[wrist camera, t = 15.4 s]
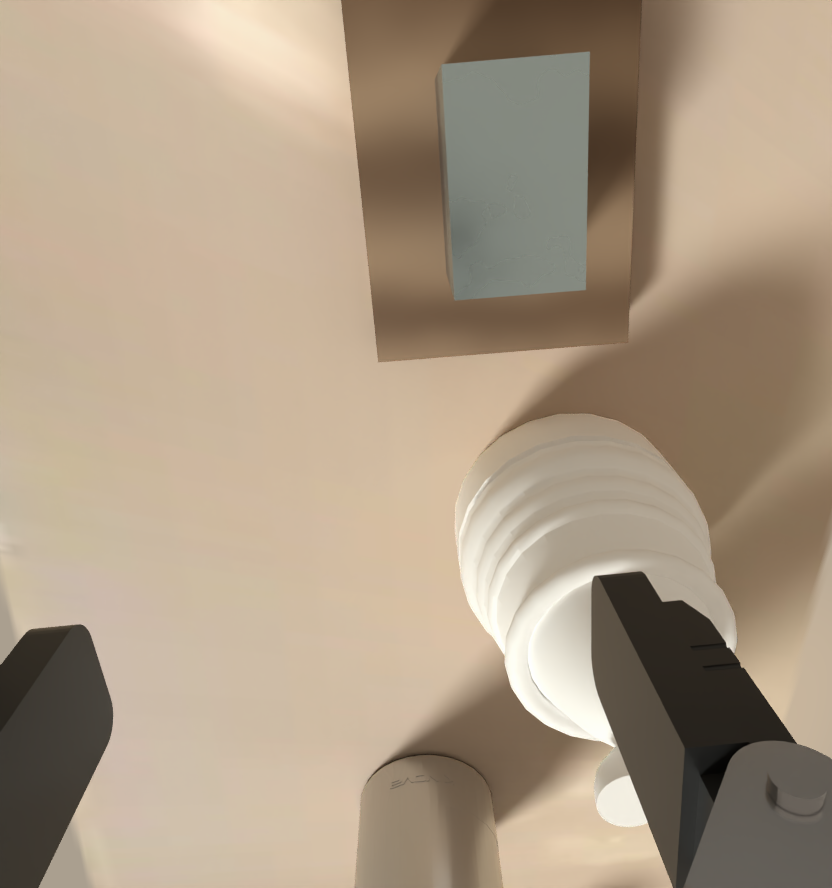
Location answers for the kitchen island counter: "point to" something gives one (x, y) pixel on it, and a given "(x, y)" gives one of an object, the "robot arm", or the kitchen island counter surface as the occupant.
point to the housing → (514, 174)
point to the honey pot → (577, 564)
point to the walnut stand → (419, 182)
